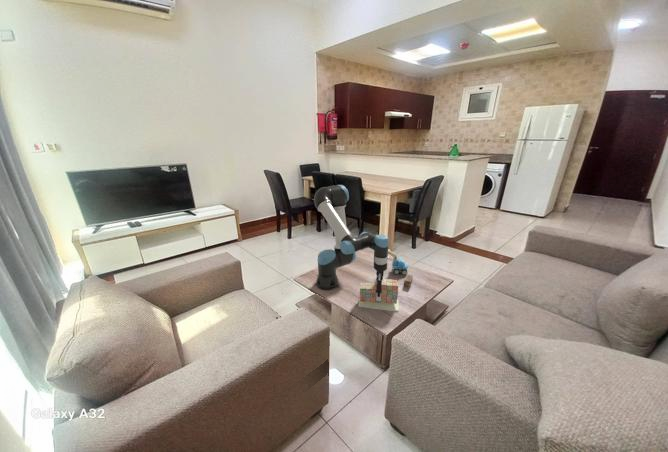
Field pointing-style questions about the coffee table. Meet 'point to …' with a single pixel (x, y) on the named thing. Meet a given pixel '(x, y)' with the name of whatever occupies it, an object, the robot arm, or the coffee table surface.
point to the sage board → (379, 305)
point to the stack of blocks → (387, 291)
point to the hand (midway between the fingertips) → (378, 296)
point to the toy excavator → (398, 264)
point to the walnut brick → (408, 281)
